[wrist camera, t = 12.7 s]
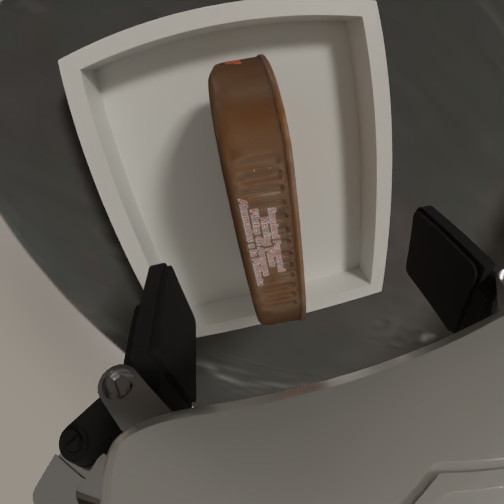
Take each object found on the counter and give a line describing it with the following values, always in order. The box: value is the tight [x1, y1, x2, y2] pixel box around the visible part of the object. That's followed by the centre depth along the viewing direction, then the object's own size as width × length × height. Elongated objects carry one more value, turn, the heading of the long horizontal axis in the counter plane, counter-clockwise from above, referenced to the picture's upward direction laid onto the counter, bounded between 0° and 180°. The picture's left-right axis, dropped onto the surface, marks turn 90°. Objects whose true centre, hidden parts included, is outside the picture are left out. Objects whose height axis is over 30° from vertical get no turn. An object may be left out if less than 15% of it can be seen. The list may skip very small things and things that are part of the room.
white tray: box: [58, 0, 392, 338], centre depth 18 cm, size 18×22×3 cm
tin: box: [208, 54, 306, 325], centre depth 15 cm, size 15×3×8 cm, turn 10°
